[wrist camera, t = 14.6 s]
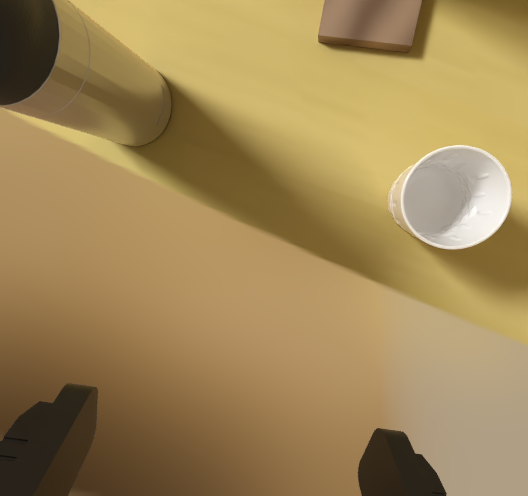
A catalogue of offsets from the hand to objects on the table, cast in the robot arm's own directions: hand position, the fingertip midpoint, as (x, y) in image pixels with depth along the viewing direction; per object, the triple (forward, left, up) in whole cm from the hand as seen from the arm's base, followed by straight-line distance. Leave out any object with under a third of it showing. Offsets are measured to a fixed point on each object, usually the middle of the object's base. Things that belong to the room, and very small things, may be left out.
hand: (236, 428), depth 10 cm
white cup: (+11, +9, -30) cm, 33 cm away
